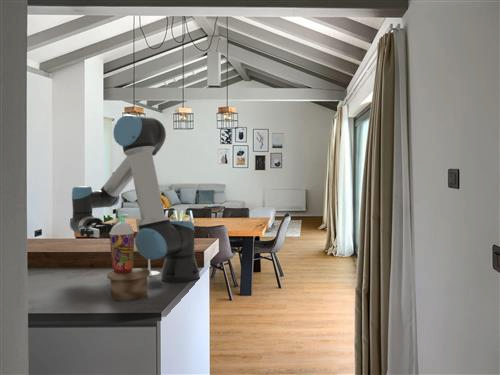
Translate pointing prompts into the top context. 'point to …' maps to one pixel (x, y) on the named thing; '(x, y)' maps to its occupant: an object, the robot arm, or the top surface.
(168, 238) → the robot arm
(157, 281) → the top surface
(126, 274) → the tan muffin-shaped cylinder
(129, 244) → the smoothie
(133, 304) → the top surface
